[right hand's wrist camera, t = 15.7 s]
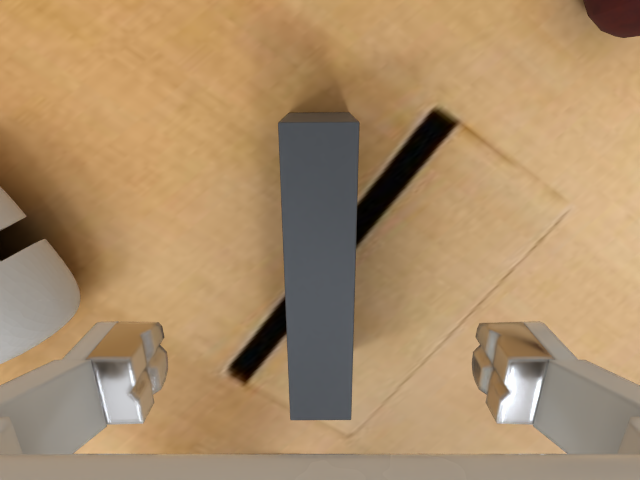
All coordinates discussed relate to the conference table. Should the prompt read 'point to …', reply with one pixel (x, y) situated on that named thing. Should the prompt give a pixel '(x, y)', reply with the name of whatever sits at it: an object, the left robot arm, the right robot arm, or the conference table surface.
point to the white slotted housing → (32, 291)
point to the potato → (615, 16)
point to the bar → (319, 259)
